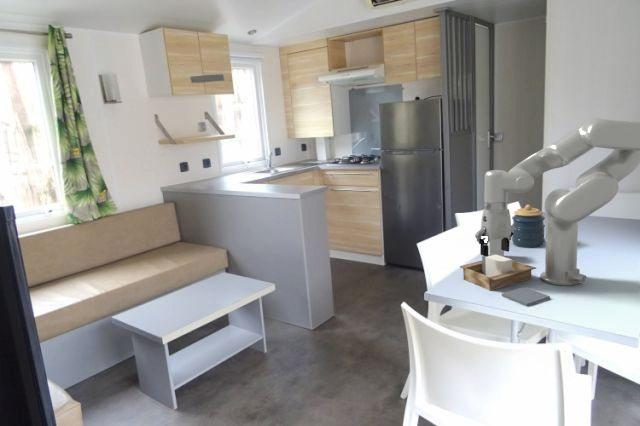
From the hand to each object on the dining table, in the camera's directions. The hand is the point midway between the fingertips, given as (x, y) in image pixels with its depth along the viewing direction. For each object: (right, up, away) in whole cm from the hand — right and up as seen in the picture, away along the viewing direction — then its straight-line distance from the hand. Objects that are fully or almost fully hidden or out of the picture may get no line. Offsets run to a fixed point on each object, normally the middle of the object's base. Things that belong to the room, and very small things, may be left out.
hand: (494, 253), depth 160 cm
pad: (+4, -13, -15) cm, 20 cm away
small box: (+9, -5, +23) cm, 25 cm away
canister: (+29, 0, +38) cm, 48 cm away
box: (+1, -9, +2) cm, 10 cm away
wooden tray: (+1, -9, +2) cm, 10 cm away
